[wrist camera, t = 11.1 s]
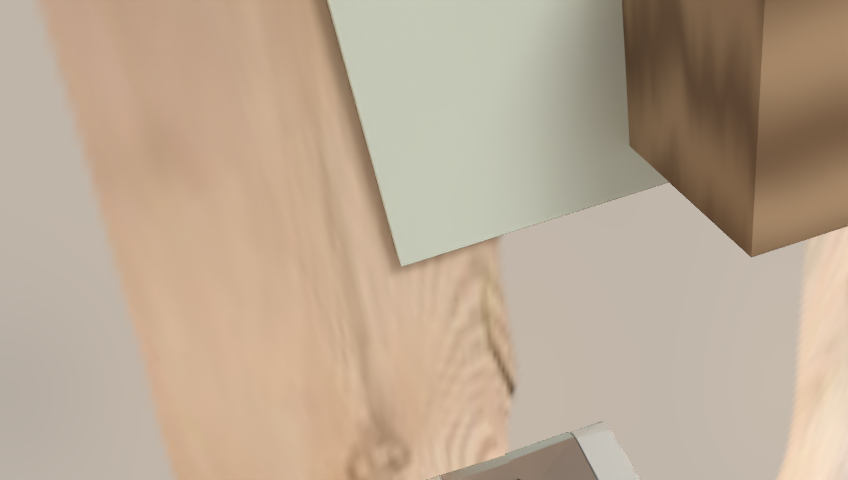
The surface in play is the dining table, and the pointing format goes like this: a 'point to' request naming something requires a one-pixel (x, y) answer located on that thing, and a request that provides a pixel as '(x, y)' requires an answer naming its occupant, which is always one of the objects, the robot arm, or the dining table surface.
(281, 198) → the dining table surface
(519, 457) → the robot arm
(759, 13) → the t block
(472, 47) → the board
